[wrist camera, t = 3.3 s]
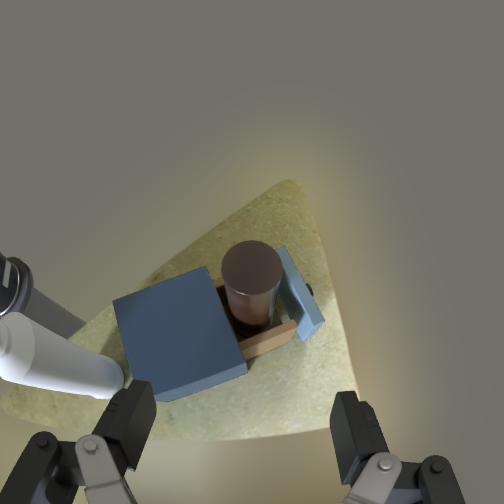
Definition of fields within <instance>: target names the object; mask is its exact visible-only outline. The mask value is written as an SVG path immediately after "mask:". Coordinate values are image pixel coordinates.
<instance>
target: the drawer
mask: <svg viewBox="0 0 504 504" xmlns="http://www.w3.org/2000/svg"><path fill="white" fill-rule="evenodd" d="M275 251H276V252H277V253H278V254H279V256H280V258H281V261H282V267H283V269H282V276H281V280H280V285H279V290H278V295H279V297H280V299H281V301H282V303H283V305H284V307H285V309H286V311H287V313H288V315H289V317H290V319H291V320H290V321H288V322H286V323H284V324H282V322H281V320H280V318H279V316H278V314H277V312H276V309H274V313H273V320H272V324H271V326H270V329H269V330H267V331H265V332H263V333H260V334H258V335H256V336H253V337H251V338H248V339H247V338H244V337H242V336H241V335H239V334H238V333H237V331H236V330H235V328H234V325H233V322H232V318H231V312H230V308H229V303H228V299H227V294H226V290H225V285H224V281H223V277H221V278H219V279H216V280H213V281H212V282H213V285H214V287H215V290H216V292H217V295H218V297H219V300H220V302H221V304H222V307H223V309H224V312H225V314H226V316H227V319H228V321H229V323H230V326H231V328H232V331H233V333H234V335H235V338H236V340H237V342H238V344H239V347H240V349H241V351H242V354H243V356H244V358H245V360H248V359H250V358H253V357H255V356H258V355H260V354H262V353H265V352H267V351H269V350H272V349H274V348H276V347H279V346H281V345H283V344H285V343H288V342H289V341H290V340H291V338H292V336H293V334H294V333H295V331H297V333H298V335H299V337H300V339H301V341H302V342H303V341H306V340H308V339H310V338H311V337H312V336H313V335H314V334H315V333H316V331H317V330H318V329H319V328H320V327H321V325H322V324H323V323H324V322H325V320H324V318H323V316H322V314H321V312H320V310H319V308H318V306H317V305H316V303H315V301H314V299H313V291H312V289H311V287H310V285H309V284H308V283H306V284H305V282H304V280H303V278H302V277H301V275H300V273H299V271H298V269H297V267H296V266H295V264H294V262H293V260H292V258H291V256H290V255H289V253H288V251H287V249H286V247H285V246H284V247H281V248H279V249H276V250H275Z"/></svg>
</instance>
